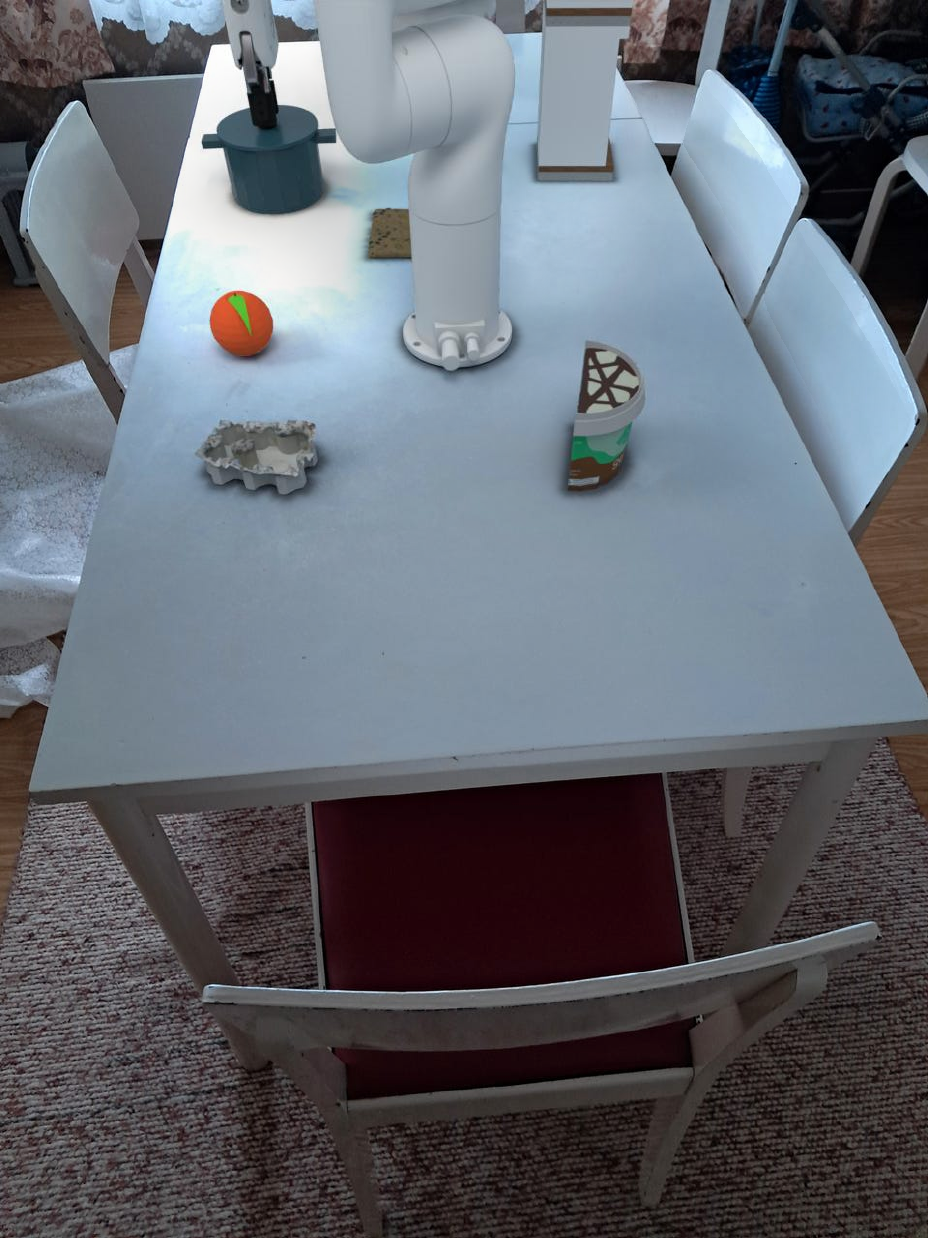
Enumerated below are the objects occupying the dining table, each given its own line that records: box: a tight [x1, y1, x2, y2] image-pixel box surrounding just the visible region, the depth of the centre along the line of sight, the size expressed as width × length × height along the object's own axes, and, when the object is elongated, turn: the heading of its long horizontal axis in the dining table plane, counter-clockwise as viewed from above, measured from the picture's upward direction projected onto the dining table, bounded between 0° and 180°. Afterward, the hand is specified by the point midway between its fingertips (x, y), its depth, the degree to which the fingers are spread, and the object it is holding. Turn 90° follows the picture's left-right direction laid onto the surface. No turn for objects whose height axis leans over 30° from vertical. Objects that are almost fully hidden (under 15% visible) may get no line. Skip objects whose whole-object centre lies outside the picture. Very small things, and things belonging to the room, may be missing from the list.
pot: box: [201, 127, 338, 215], centre depth 120 cm, size 13×18×8 cm
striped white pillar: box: [536, 0, 634, 182], centre depth 115 cm, size 11×11×35 cm
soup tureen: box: [392, 0, 497, 32], centre depth 139 cm, size 28×28×21 cm
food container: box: [567, 339, 646, 492], centre depth 83 cm, size 12×6×10 cm, turn 171°
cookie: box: [367, 207, 412, 259], centre depth 115 cm, size 12×12×1 cm
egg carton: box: [194, 419, 319, 496], centre depth 85 cm, size 11×8×4 cm
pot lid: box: [216, 76, 319, 151], centre depth 115 cm, size 14×14×7 cm
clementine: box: [208, 290, 274, 357], centre depth 97 cm, size 8×7×7 cm
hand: (266, 117), depth 116 cm, fingers closed
